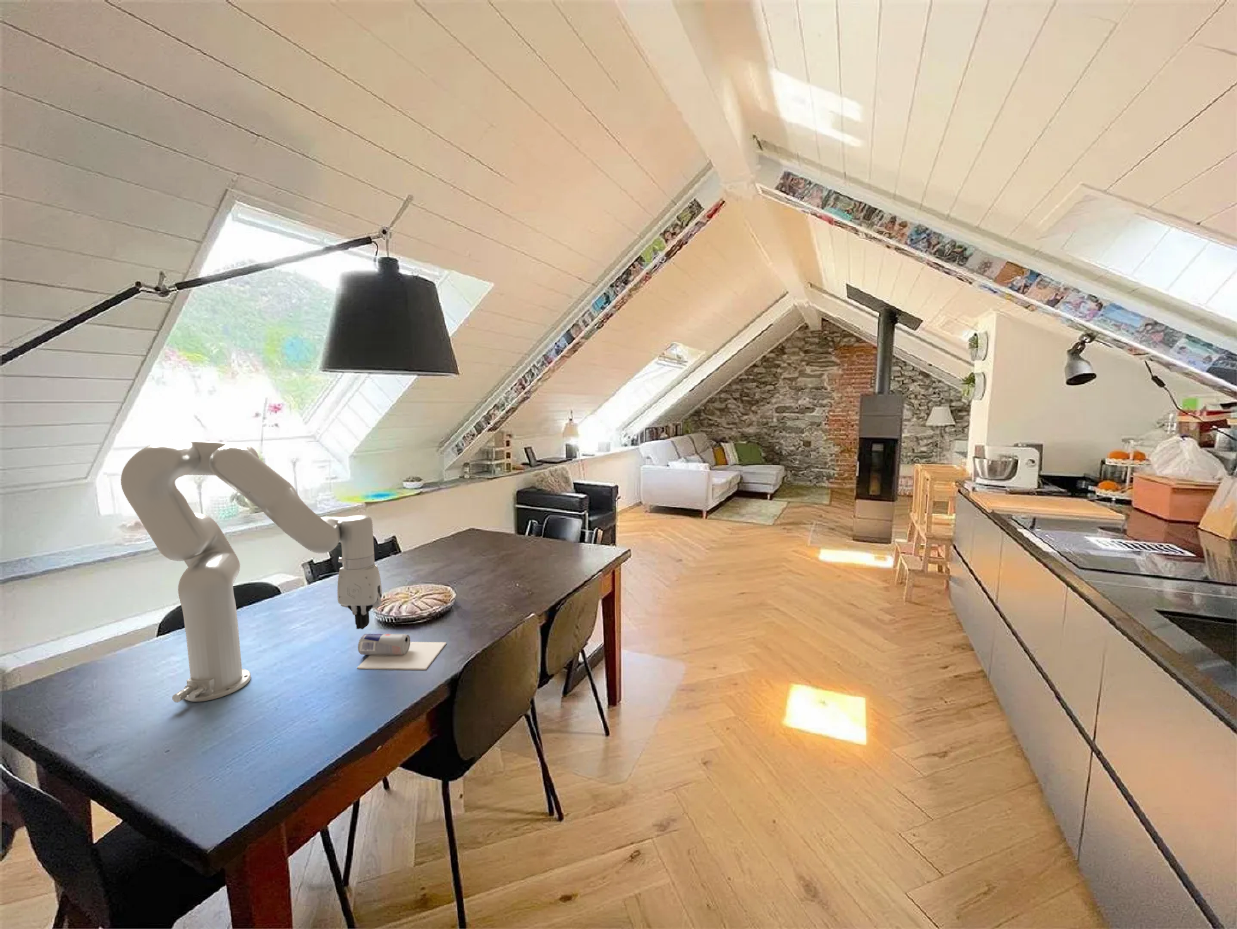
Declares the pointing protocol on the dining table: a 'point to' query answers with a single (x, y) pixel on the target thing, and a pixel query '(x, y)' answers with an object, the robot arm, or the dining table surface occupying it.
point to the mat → (406, 657)
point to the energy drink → (384, 644)
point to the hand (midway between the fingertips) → (362, 626)
